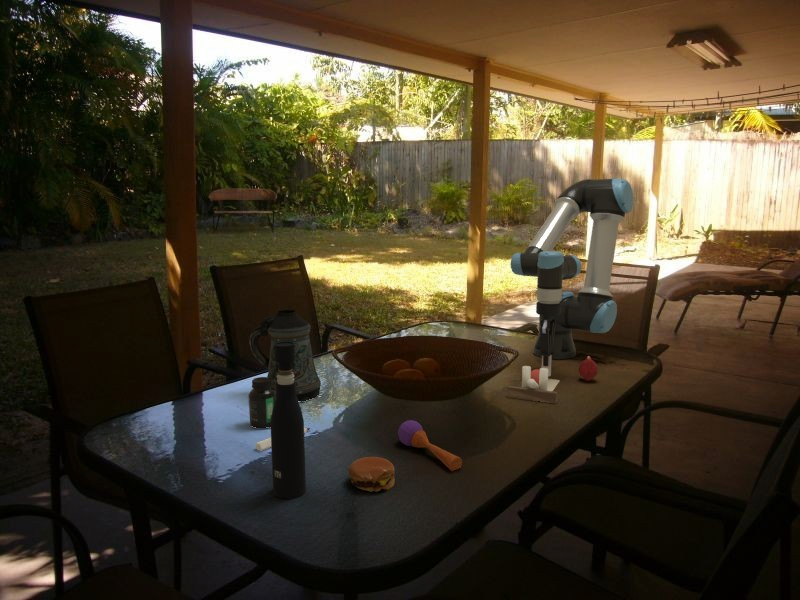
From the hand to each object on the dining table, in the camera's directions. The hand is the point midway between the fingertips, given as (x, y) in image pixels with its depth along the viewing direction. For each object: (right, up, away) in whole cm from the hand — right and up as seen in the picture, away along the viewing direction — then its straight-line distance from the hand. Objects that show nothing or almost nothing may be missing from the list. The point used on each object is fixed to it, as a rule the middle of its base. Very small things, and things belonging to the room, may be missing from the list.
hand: (546, 375), depth 191 cm
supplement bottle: (-81, -8, -36) cm, 89 cm away
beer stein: (-79, -4, -13) cm, 80 cm away
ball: (-5, 0, -8) cm, 9 cm away
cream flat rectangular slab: (-2, -3, -4) cm, 5 cm away
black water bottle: (-68, -14, -71) cm, 99 cm away
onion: (+13, -2, 0) cm, 13 cm away
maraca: (-40, -12, -54) cm, 68 cm away
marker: (-74, -10, -46) cm, 87 cm away
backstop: (-8, -5, -17) cm, 20 cm away
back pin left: (-5, -4, -15) cm, 17 cm away
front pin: (-5, -3, -11) cm, 13 cm away
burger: (-52, -14, -67) cm, 86 cm away
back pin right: (-9, -4, -13) cm, 17 cm away
